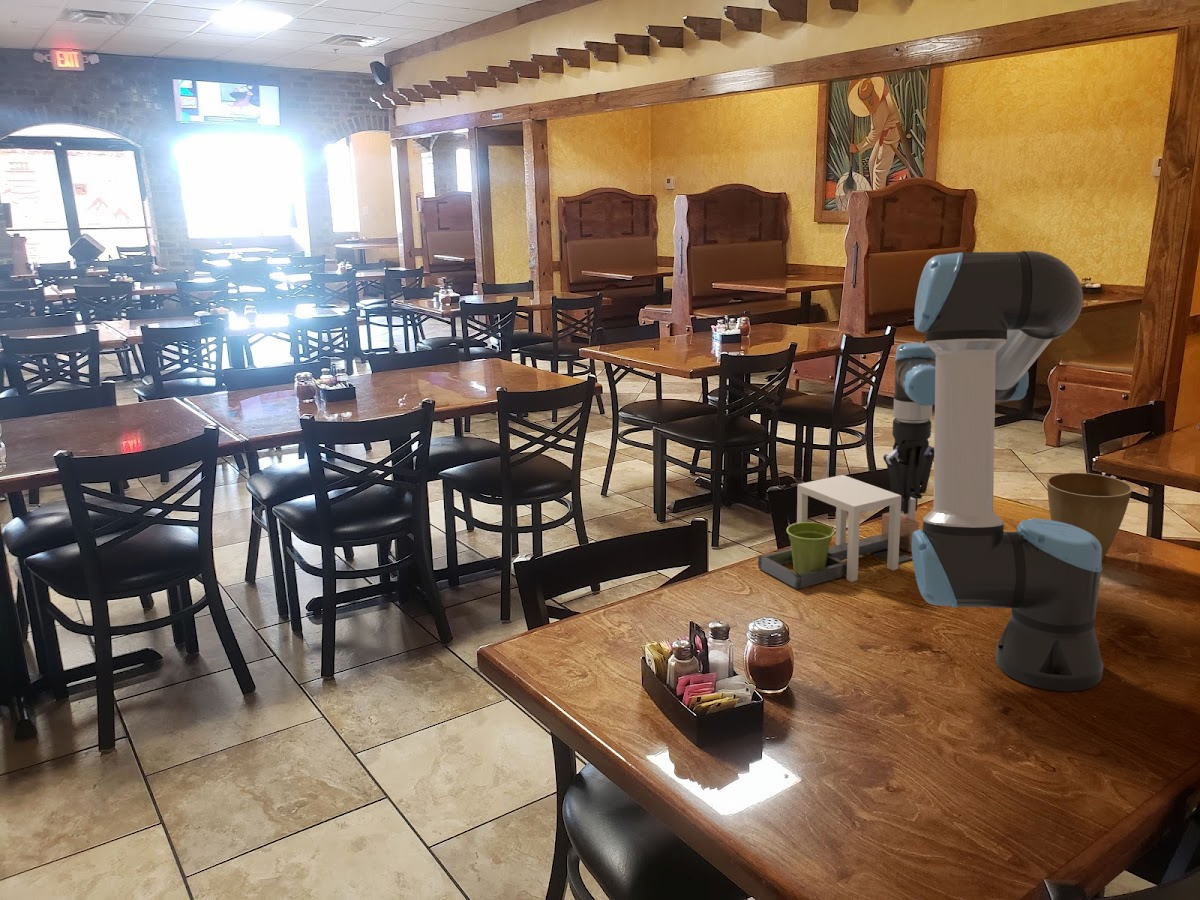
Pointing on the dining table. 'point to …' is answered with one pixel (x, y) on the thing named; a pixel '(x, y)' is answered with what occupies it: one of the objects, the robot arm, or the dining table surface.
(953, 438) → the robot arm
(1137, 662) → the dining table surface
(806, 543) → the plant pot
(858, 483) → the white mini stool
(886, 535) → the long-handled tray
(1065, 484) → the plant pot
